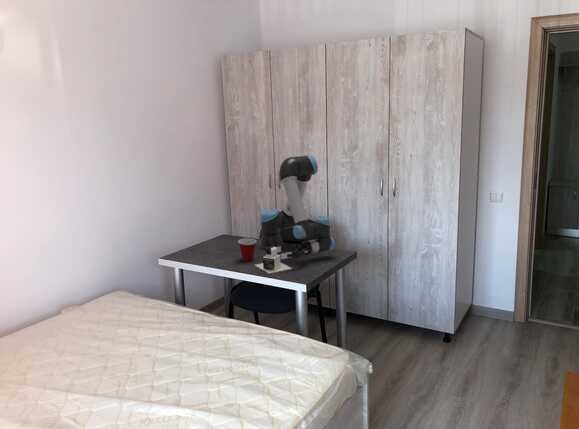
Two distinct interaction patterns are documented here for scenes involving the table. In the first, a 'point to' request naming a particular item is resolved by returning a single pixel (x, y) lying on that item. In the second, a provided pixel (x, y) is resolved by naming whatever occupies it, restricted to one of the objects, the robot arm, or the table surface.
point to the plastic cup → (247, 249)
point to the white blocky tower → (271, 259)
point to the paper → (282, 268)
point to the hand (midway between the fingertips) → (275, 253)
